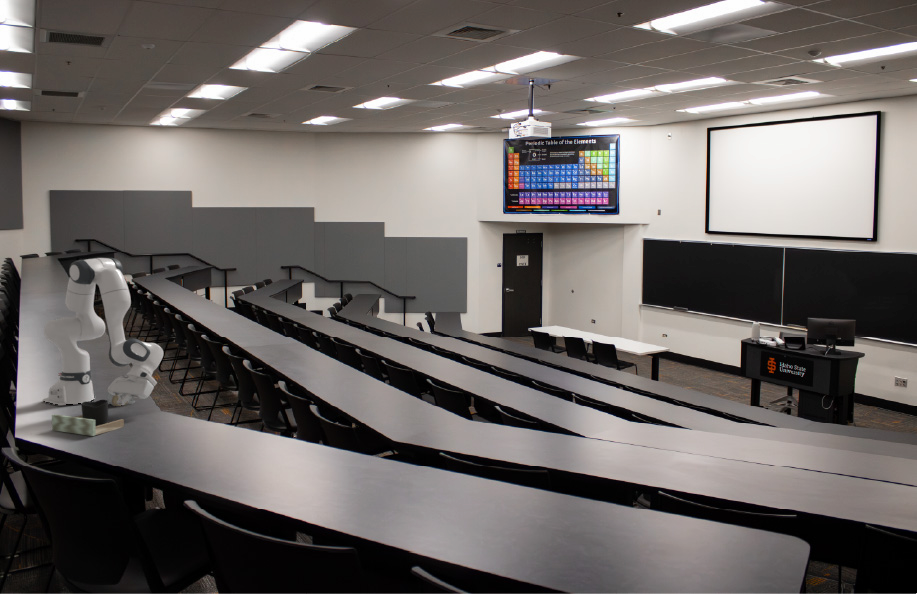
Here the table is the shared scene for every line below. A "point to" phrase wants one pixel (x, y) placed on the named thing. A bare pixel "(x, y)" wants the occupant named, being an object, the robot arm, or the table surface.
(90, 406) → the pen holder
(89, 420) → the corral
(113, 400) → the ceramic mug
